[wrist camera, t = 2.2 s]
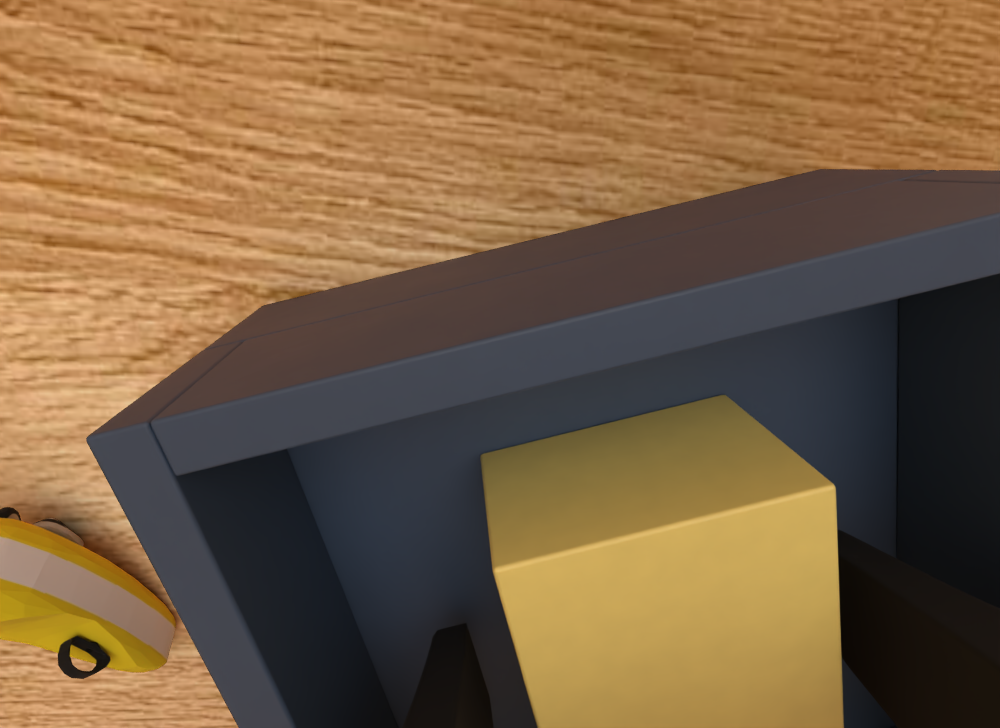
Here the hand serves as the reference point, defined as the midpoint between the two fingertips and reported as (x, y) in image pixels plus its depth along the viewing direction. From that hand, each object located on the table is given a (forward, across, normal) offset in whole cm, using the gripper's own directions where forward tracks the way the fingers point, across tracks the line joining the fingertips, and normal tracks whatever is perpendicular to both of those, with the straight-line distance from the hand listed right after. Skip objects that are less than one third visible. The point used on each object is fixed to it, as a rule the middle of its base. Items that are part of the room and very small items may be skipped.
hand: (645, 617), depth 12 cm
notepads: (+1, 0, 0) cm, 1 cm away
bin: (+4, 0, 0) cm, 4 cm away
